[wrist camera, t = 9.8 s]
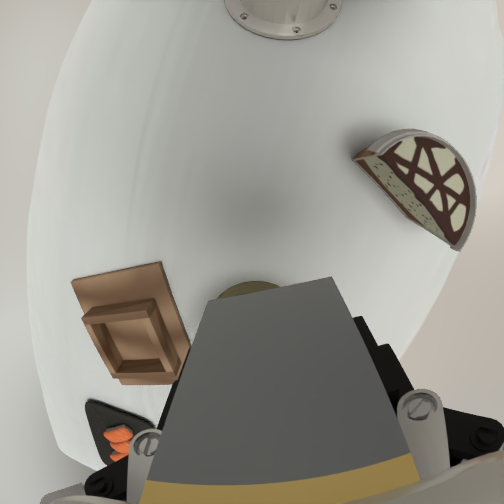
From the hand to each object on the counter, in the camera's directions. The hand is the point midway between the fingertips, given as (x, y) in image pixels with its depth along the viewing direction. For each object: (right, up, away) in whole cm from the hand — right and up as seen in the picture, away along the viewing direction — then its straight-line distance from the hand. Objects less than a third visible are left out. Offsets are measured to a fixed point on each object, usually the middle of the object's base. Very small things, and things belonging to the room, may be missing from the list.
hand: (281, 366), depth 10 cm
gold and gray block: (0, 0, +2) cm, 2 cm away
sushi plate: (-20, -38, +37) cm, 57 cm away
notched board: (-16, -6, +26) cm, 31 cm away
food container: (+15, +13, +18) cm, 27 cm away
